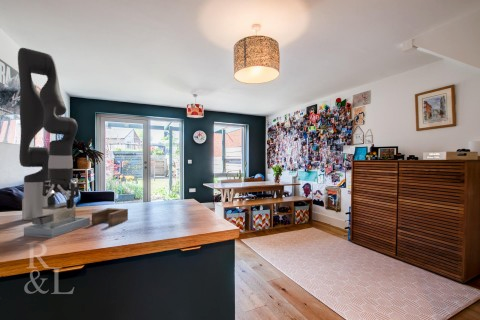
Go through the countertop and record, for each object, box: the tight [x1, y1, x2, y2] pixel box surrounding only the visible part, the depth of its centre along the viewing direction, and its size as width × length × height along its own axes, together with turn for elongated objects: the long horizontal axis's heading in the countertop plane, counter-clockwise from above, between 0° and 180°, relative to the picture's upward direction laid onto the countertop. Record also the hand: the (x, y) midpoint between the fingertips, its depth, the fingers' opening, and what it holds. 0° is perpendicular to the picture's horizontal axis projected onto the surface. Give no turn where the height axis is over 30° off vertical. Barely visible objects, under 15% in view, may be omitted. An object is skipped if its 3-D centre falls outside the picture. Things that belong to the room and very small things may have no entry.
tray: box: [23, 216, 91, 239], centre depth 86 cm, size 12×16×3 cm
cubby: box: [91, 207, 129, 227], centre depth 97 cm, size 10×10×5 cm
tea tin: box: [31, 201, 77, 228], centre depth 85 cm, size 5×13×9 cm, turn 170°
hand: (60, 207), depth 87 cm, fingers open, 8 cm apart
